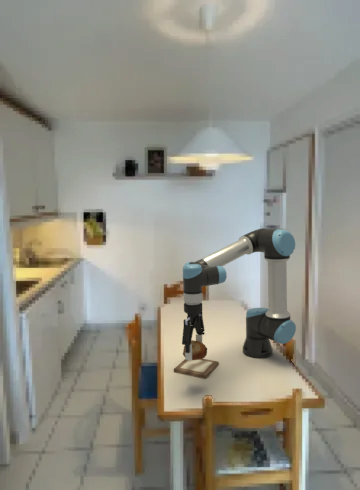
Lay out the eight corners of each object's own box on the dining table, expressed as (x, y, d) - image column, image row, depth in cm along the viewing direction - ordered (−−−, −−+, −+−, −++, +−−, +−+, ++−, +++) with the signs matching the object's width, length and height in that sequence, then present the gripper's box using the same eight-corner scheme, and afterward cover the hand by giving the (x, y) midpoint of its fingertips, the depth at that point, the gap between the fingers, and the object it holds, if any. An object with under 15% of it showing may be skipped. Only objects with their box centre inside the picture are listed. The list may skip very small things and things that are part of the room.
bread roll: (186, 358, 161) (177, 343, 160) (207, 347, 161) (199, 332, 160) (188, 369, 151) (179, 352, 150) (211, 357, 151) (202, 340, 150)
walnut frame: (218, 364, 181) (218, 361, 181) (205, 378, 167) (205, 375, 167) (188, 358, 188) (188, 355, 188) (173, 372, 174) (173, 368, 174)
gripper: (195, 294, 165) (196, 343, 168) (172, 309, 145) (173, 364, 147) (211, 296, 161) (212, 345, 164) (189, 311, 141) (191, 367, 144)
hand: (194, 354), depth 156 cm, fingers closed on bread roll, 10 cm apart
